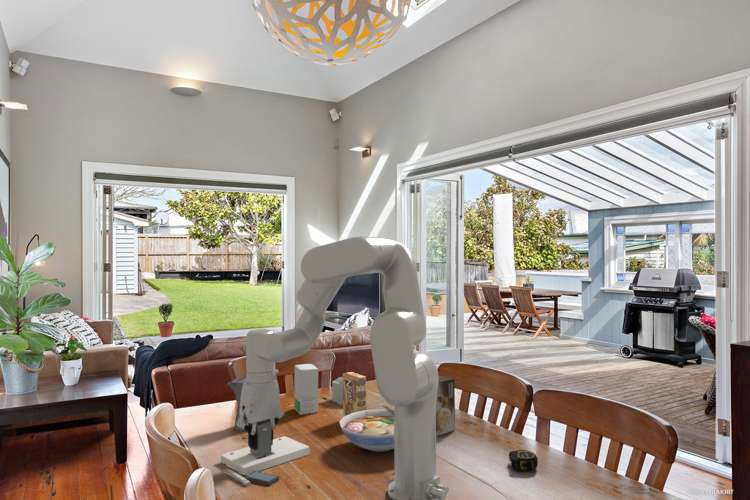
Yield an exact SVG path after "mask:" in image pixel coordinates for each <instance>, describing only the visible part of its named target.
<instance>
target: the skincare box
mask: <svg viewBox="0 0 750 500" xmlns="http://www.w3.org/2000/svg"><path fill="white" fill-rule="evenodd" d="M293 380H294V382H293V383H294V384H293V385H294V387H293V391H294V393H293V394H294V395H293V396H294V397H293V408H294V410H295V411H296V412H297V413H298V414H299V415H301V416H304V415H310V414H309V413H311V414H317V413H318V411H319V409H318V403H319V402H318V401H319V397H318V396H319V394H318V393H319V368H318V367H316V365H313V364H312V363H304V364H295V365H294V379H293ZM316 412H317V413H316ZM303 414H304V415H303Z"/></svg>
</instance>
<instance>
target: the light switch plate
mask: <svg viewBox="0 0 750 500" xmlns="http://www.w3.org/2000/svg"><path fill="white" fill-rule="evenodd" d="M310 449H311V448H310V446H308V445H306V444H304V443H301V442H299V441H297V440H295V439H293V438H291V437H287V436H285V435H283V436H281V437H277V438H273V445H271V453H267V454H264V455H261V456H257V455H255V454H253V453H251V452H250V447H249V446H246V447H243V448H239V449H237V450H233V451H230V452H226V453H225V452H224V453H222V454H220V463H221V462H223V463H225V464H226V465H228V466H230V467H232V468H233V469H235V470H236V471H238V472H240V473H242V474H243V475H246V476H247V474H250V473H252V472H254V471H258V472H261V471H263V470H268V469H270V468H272V467H276V466H279V465H281V464H285V463H287V462H290V461H293V460H297V459H299V458H303V457H307V456H308V455H310V454H311V452H310V451H311V450H310ZM223 463H222V464H223ZM226 465H225V466H226ZM228 466H227V467H228ZM233 469H232V470H233ZM236 471H235V472H236ZM238 472H237V473H238ZM240 473H239V474H240ZM243 475H242V476H243Z"/></svg>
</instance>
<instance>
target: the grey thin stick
mask: <svg viewBox="0 0 750 500" xmlns="http://www.w3.org/2000/svg"><path fill="white" fill-rule="evenodd" d="M224 472H226V473H228V474H230V475H231V476H233V477H234V478H236V479H238V480H239V481H241V482H242V483H243V484H244V485H246V486H245V487H248V486H251V482H250V481H248V480H247V479H245V476H244V477H243V475H241V474H240V473H238V472H236V471H234V470H233V469H231V468H226V469H223V473H224ZM231 476H230V477H231ZM234 478H233V479H234ZM236 479H235V480H236ZM239 481H238V482H239ZM242 483H241V484H242ZM243 484H242V485H243ZM244 485H243V486H244ZM247 485H248V486H247Z"/></svg>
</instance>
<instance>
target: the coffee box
mask: <svg viewBox="0 0 750 500" xmlns="http://www.w3.org/2000/svg"><path fill="white" fill-rule="evenodd" d="M455 388H456V387H455V378H453V377H450V376H444V375H438V390H437V399H436V437H440V436H441V435H442V436H443V435H445V434H448V433H450V432H454V431H456V394H455Z"/></svg>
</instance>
